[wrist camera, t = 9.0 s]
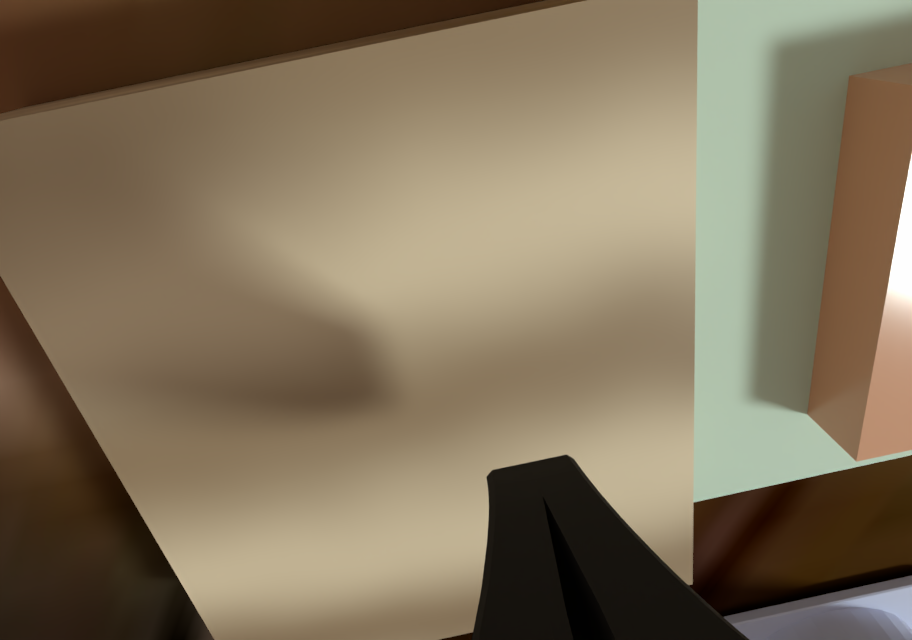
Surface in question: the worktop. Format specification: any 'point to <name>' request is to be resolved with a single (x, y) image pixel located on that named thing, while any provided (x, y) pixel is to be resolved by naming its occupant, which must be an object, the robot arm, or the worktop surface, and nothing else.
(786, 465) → the mat
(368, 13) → the worktop surface
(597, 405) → the tan tray
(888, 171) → the tile
